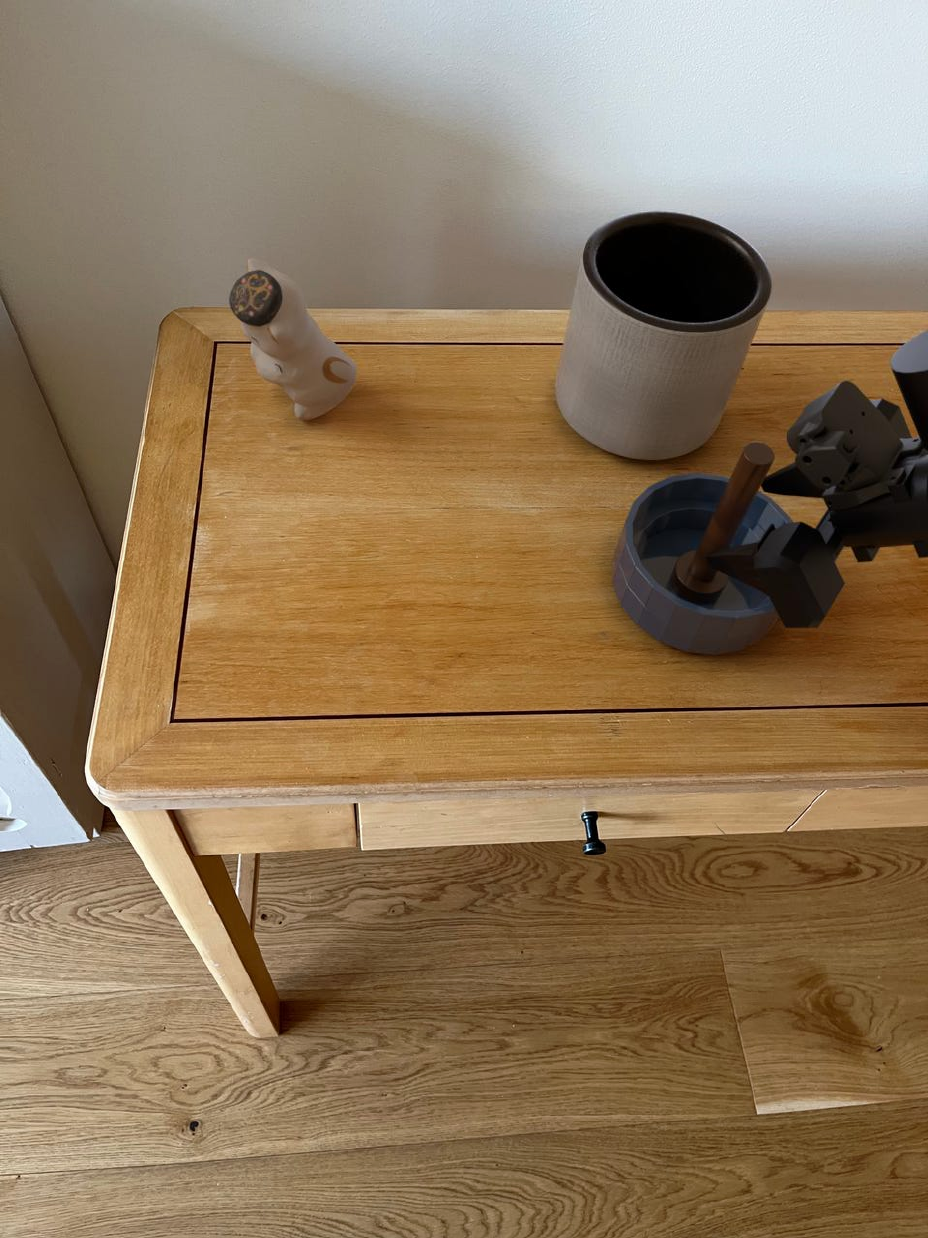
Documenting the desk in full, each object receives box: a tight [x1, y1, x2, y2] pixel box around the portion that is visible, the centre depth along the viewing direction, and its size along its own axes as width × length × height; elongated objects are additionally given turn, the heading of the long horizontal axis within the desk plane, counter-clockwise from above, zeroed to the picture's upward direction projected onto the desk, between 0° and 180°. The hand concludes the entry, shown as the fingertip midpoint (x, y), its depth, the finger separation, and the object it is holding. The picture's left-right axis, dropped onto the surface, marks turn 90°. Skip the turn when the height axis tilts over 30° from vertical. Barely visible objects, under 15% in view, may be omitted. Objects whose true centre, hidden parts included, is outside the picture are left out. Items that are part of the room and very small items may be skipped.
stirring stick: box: [671, 441, 776, 604], centre depth 71 cm, size 4×4×16 cm
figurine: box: [228, 257, 358, 421], centre depth 80 cm, size 9×10×15 cm
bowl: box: [611, 472, 794, 656], centre depth 75 cm, size 14×14×6 cm
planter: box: [554, 210, 773, 461], centre depth 82 cm, size 16×16×16 cm
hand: (736, 522), depth 70 cm, fingers open, 9 cm apart
